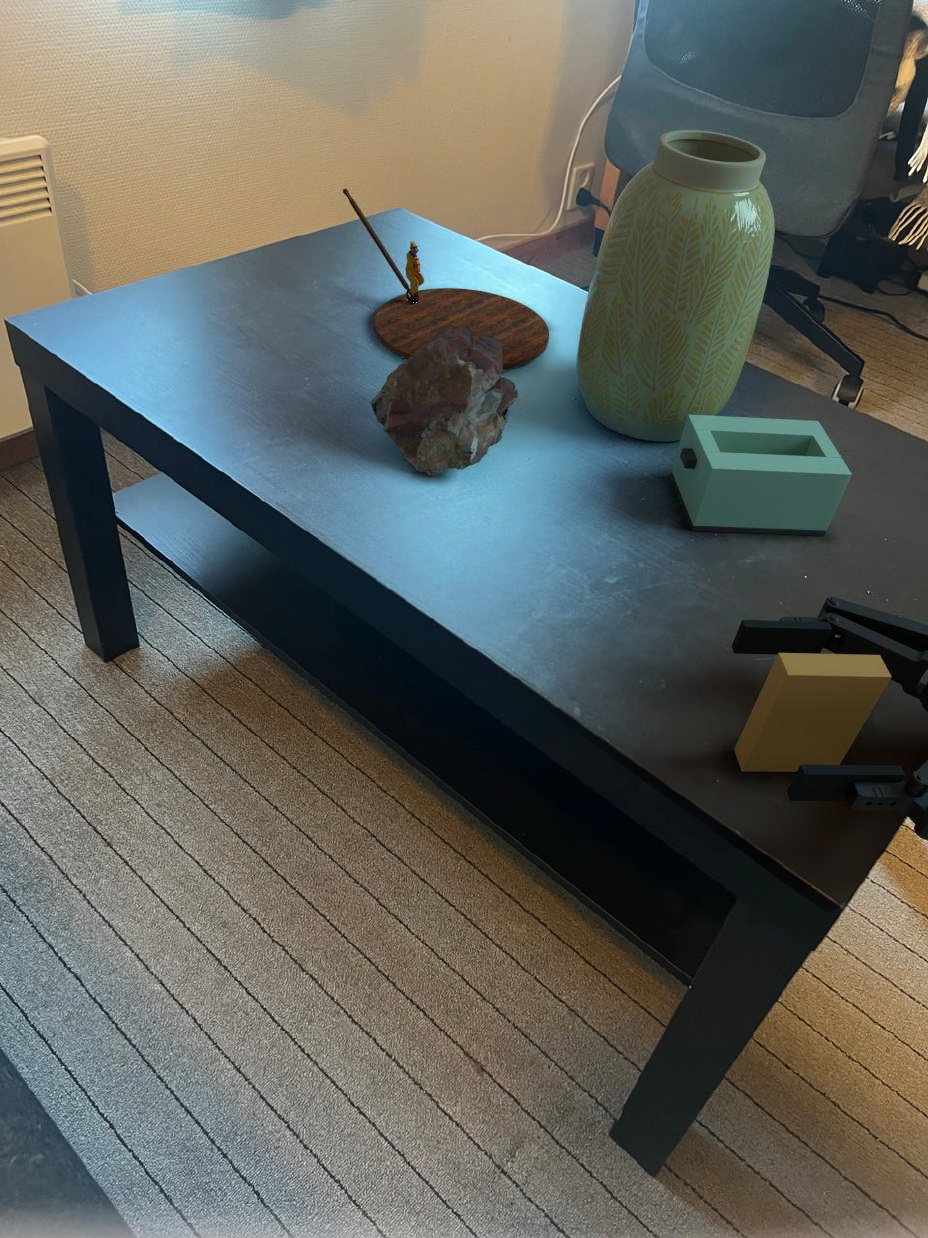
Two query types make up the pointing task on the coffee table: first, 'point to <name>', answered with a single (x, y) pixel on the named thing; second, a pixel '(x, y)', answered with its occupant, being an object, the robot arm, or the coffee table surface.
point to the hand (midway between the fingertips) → (763, 704)
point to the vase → (677, 287)
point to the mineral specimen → (447, 401)
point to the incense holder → (453, 314)
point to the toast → (810, 710)
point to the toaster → (758, 475)
